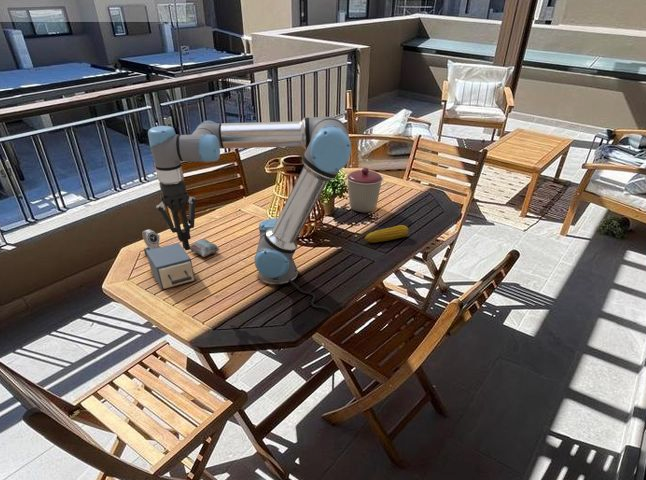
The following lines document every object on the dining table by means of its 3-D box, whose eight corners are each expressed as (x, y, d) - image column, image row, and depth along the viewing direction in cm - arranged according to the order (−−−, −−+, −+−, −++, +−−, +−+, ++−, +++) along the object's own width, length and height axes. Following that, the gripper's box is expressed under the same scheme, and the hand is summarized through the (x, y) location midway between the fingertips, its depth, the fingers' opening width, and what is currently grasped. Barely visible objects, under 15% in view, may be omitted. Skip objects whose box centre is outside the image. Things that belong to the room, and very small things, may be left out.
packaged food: (203, 261, 182) (201, 250, 180) (186, 251, 189) (184, 241, 186) (221, 254, 188) (219, 243, 185) (204, 245, 194) (202, 234, 191)
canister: (381, 216, 222) (385, 174, 209) (345, 215, 222) (346, 173, 209) (379, 202, 237) (382, 162, 224) (345, 201, 236) (346, 161, 224)
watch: (153, 260, 182) (147, 236, 176) (143, 254, 186) (136, 230, 180) (166, 255, 186) (160, 231, 179) (155, 249, 190) (149, 225, 183)
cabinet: (195, 280, 171) (190, 258, 165) (161, 289, 165) (156, 267, 160) (183, 263, 181) (178, 242, 175) (151, 272, 175) (145, 250, 169)
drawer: (199, 287, 166) (196, 269, 161) (168, 296, 160) (164, 278, 156) (183, 264, 178) (179, 247, 174) (154, 272, 173) (149, 254, 169)
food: (402, 233, 208) (404, 221, 204) (409, 238, 204) (410, 226, 200) (362, 241, 200) (363, 229, 197) (368, 247, 196) (369, 234, 193)
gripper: (188, 173, 143) (201, 239, 157) (146, 181, 137) (164, 249, 151) (196, 180, 138) (209, 247, 152) (153, 188, 132) (171, 258, 146)
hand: (186, 248), depth 152 cm, fingers closed
